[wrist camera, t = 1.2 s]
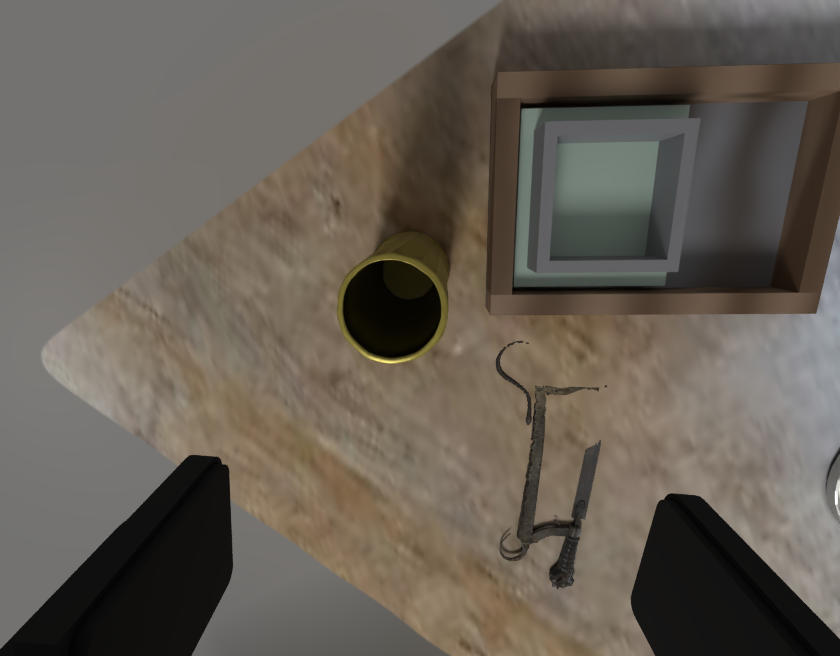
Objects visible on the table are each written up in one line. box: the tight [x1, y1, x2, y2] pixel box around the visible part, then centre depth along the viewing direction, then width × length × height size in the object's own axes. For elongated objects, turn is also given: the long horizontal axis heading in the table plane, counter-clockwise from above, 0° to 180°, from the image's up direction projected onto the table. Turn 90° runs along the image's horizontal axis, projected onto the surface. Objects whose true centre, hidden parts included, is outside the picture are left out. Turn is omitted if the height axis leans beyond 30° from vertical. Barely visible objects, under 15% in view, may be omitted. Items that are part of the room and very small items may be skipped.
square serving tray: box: [512, 105, 701, 287], centre depth 28 cm, size 11×12×4 cm
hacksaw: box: [496, 341, 607, 589], centre depth 37 cm, size 24×10×2 cm, turn 175°
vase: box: [337, 232, 449, 364], centre depth 26 cm, size 6×6×14 cm
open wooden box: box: [486, 63, 840, 315], centre depth 29 cm, size 23×16×3 cm
